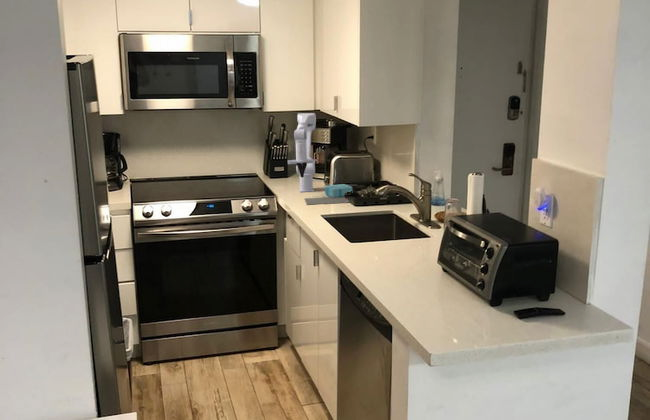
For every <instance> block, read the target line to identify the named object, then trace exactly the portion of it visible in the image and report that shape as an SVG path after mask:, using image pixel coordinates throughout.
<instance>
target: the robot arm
mask: <svg viewBox="0 0 650 420" xmlns="http://www.w3.org/2000/svg"><path fill="white" fill-rule="evenodd" d="M297 123H298V125H297V127H296V129H295V130H294V132H293V137H294V142H295V143H294V144H295V158H296V159H291V160H288V159H287V165H296V167H295V168H296V174H297V175H298V176H299V187H298V191H299V192H300V193H306V192H315V189H314V184H313V182H314V179H313V175H314V174H315V173H316V166H315V165H316V159H315V158H311V150H312V149H311V146H312V132H313V131H315V129H316V125H317V124H316V123H317V116H316V113H315V112H310V113H309V112H307V113H306V112H305V113H301V112H298V113H297Z"/></svg>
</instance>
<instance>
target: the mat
mask: <svg viewBox="0 0 650 420" xmlns="http://www.w3.org/2000/svg"><path fill="white" fill-rule="evenodd" d="M304 201H305V203H306V205H307V206H310V205H328V204H329V205H330V204H333V205H334V204H349V203H351V202H350V200H349V199H348V198H347V199H346V198H345V197H344V196H343V197H331V196H327V197H326V196H325V197H309V198H308V197H307V198H304Z"/></svg>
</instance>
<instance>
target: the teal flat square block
mask: <svg viewBox="0 0 650 420" xmlns="http://www.w3.org/2000/svg"><path fill="white" fill-rule="evenodd" d="M351 191H352V192H353V186H351V185H349V184H348V185H347V184H344V183H342V184H340V183H339V184H329V185H325V186H324V195H326V196H327V197H343V196H344V194H345V193H347V192H351Z"/></svg>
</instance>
